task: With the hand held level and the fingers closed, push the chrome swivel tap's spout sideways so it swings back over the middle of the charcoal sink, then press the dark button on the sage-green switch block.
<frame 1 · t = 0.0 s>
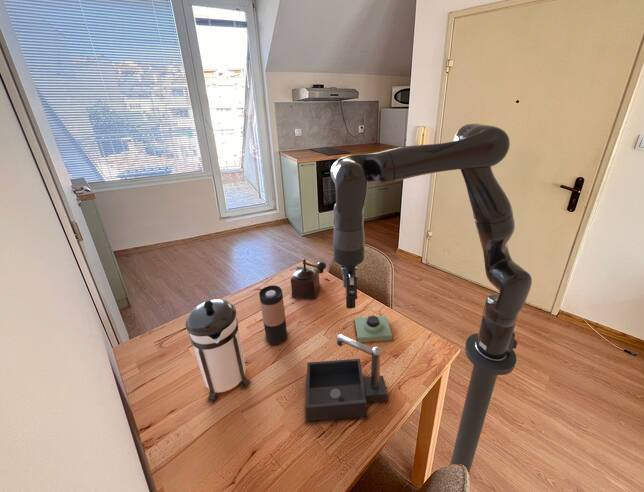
hand: (349, 296, 77), 31 cm above the table, tool pointing down, fingers open, 8 cm apart
manual coffee grinder: (311, 292, 129), on the table
sink: (335, 395, 85), on the table
button: (373, 321, 106), point 4 cm above the table, slide at 0.1 cm
travel mug: (276, 337, 106), on the table
faucet: (357, 358, 84), point 10 cm above the table, hinge at -35.0°
coffee press: (225, 377, 91), on the table
switch block: (372, 330, 108), on the table
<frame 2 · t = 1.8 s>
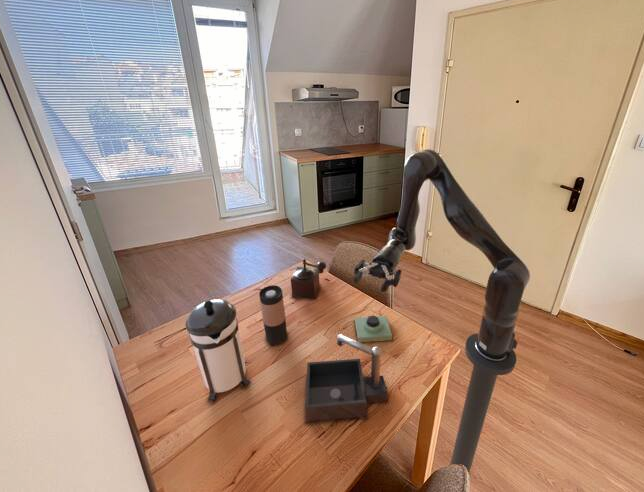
hand: (368, 285, 87), 28 cm above the table, tool horizontal, fingers open, 8 cm apart
nothing on the table moved.
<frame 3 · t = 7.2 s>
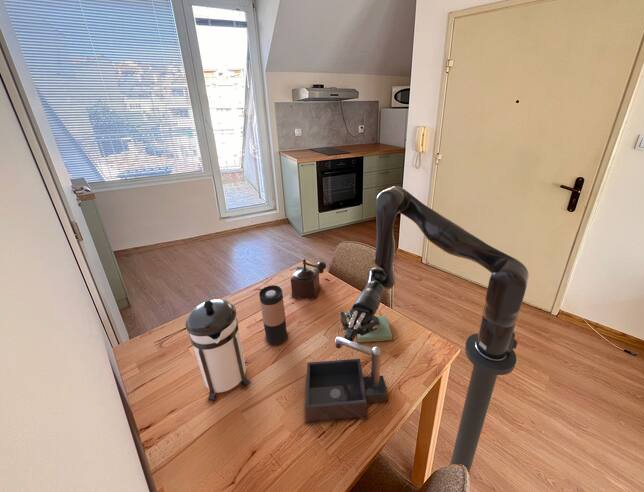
hand: (347, 340, 84), 16 cm above the table, tool horizontal, fingers closed
faucet: (357, 359, 84), point 10 cm above the table, hinge at -30.0°, touching gripper
everything else where it was.
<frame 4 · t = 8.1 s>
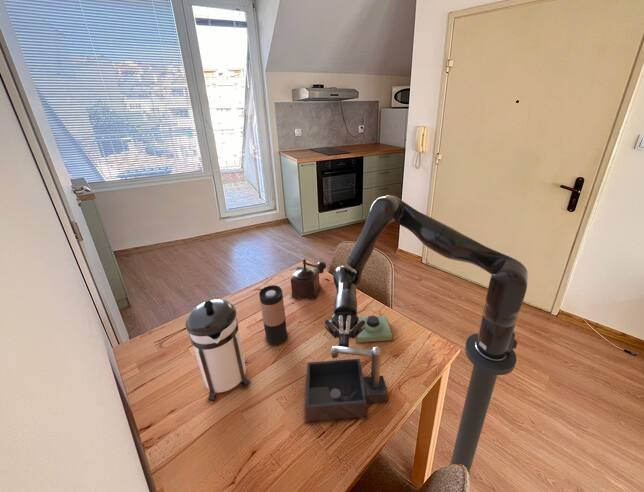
hand: (343, 347, 82), 16 cm above the table, tool horizontal, fingers closed
faucet: (355, 364, 82), point 10 cm above the table, hinge at -12.4°, touching gripper
everything else where it was.
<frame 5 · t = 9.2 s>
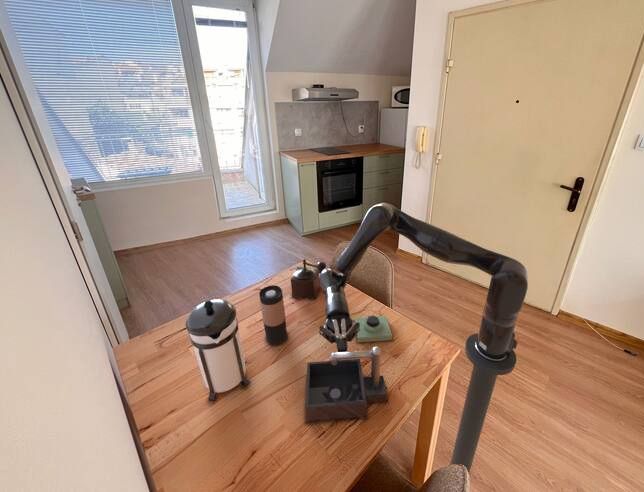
hand: (342, 351, 80), 16 cm above the table, tool horizontal, fingers closed
faucet: (355, 368, 81), point 10 cm above the table, hinge at -0.8°
everything else where it was.
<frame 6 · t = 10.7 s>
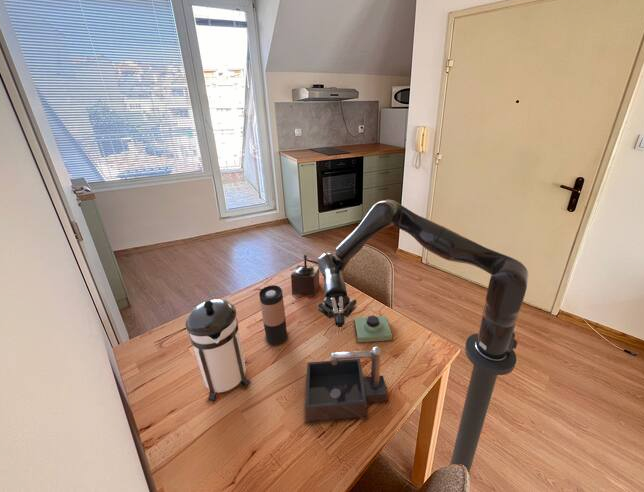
hand: (340, 325, 86), 18 cm above the table, tool horizontal, fingers closed
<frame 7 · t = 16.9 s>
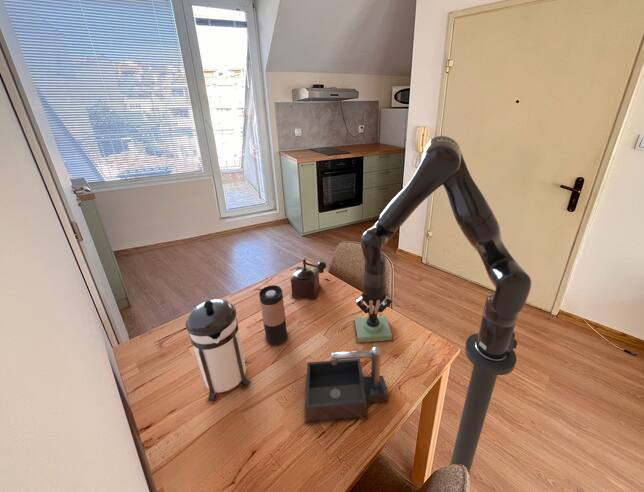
hand: (372, 320, 106), 5 cm above the table, tool pointing down, fingers closed
button: (373, 321, 106), point 4 cm above the table, slide at -0.2 cm, touching gripper
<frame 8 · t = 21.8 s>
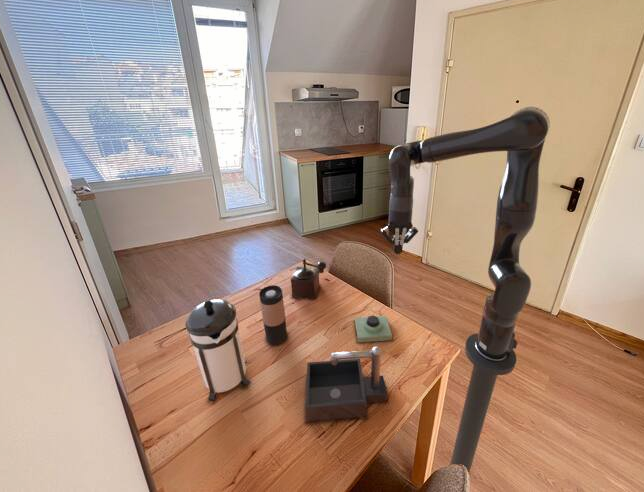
hand: (397, 253, 102), 29 cm above the table, tool pointing down, fingers closed
button: (373, 321, 106), point 4 cm above the table, slide at 0.1 cm
everything else where it was.
at the end: faucet at -1° (first picture: -35°); button pushed in 1.1 cm at the most during the clip, back to where it started at the end; button slide at 0.1 cm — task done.
